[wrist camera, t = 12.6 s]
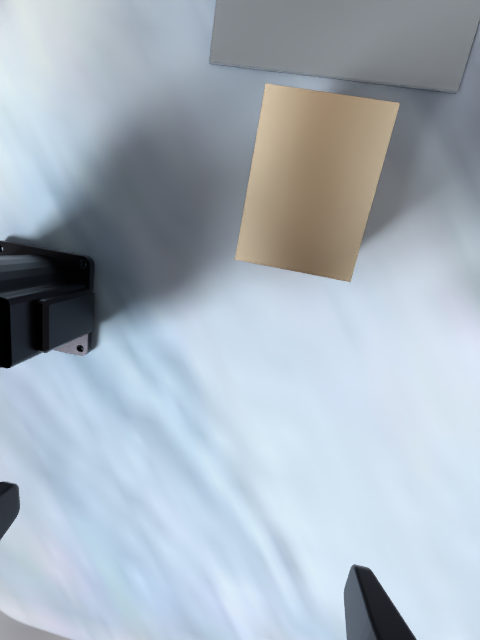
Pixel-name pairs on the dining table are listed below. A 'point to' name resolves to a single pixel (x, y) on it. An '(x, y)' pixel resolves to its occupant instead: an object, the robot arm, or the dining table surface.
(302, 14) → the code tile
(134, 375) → the dining table surface
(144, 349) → the dining table surface
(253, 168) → the maple block
